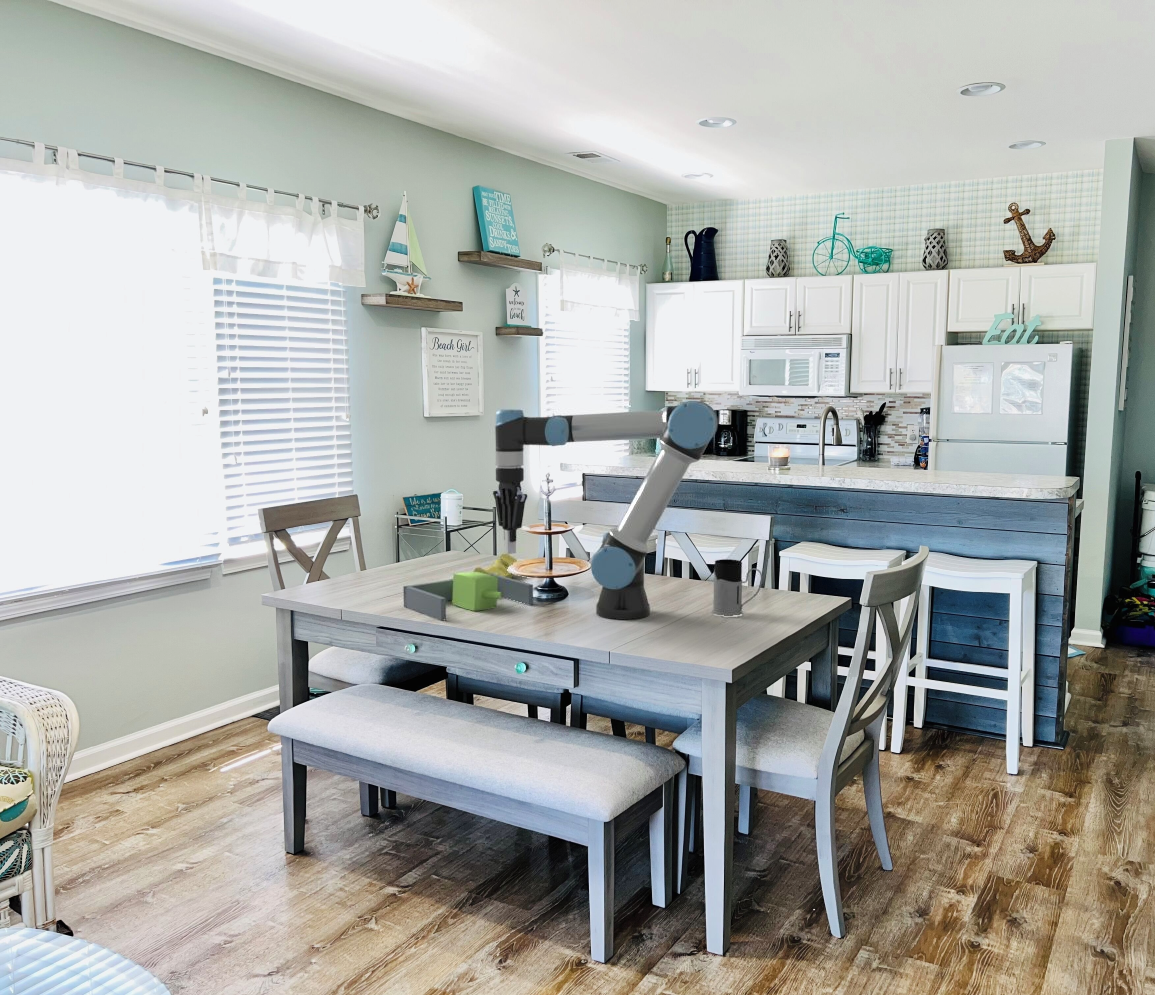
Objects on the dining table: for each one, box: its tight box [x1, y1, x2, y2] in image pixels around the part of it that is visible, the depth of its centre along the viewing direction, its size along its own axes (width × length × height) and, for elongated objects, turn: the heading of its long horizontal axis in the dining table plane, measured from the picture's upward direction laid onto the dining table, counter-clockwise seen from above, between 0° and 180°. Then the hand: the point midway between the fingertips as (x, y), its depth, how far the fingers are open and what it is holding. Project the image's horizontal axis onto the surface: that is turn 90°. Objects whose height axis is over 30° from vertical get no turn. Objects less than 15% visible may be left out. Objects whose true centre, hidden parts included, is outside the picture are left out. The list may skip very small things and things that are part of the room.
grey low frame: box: [402, 574, 534, 621], centre depth 274 cm, size 21×31×6 cm
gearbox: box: [451, 571, 502, 612], centre depth 273 cm, size 18×10×10 cm, turn 43°
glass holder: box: [711, 558, 763, 616], centre depth 263 cm, size 9×14×15 cm, turn 62°
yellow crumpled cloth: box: [473, 552, 518, 579], centre depth 312 cm, size 20×7×10 cm
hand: (510, 553), depth 256 cm, fingers closed
